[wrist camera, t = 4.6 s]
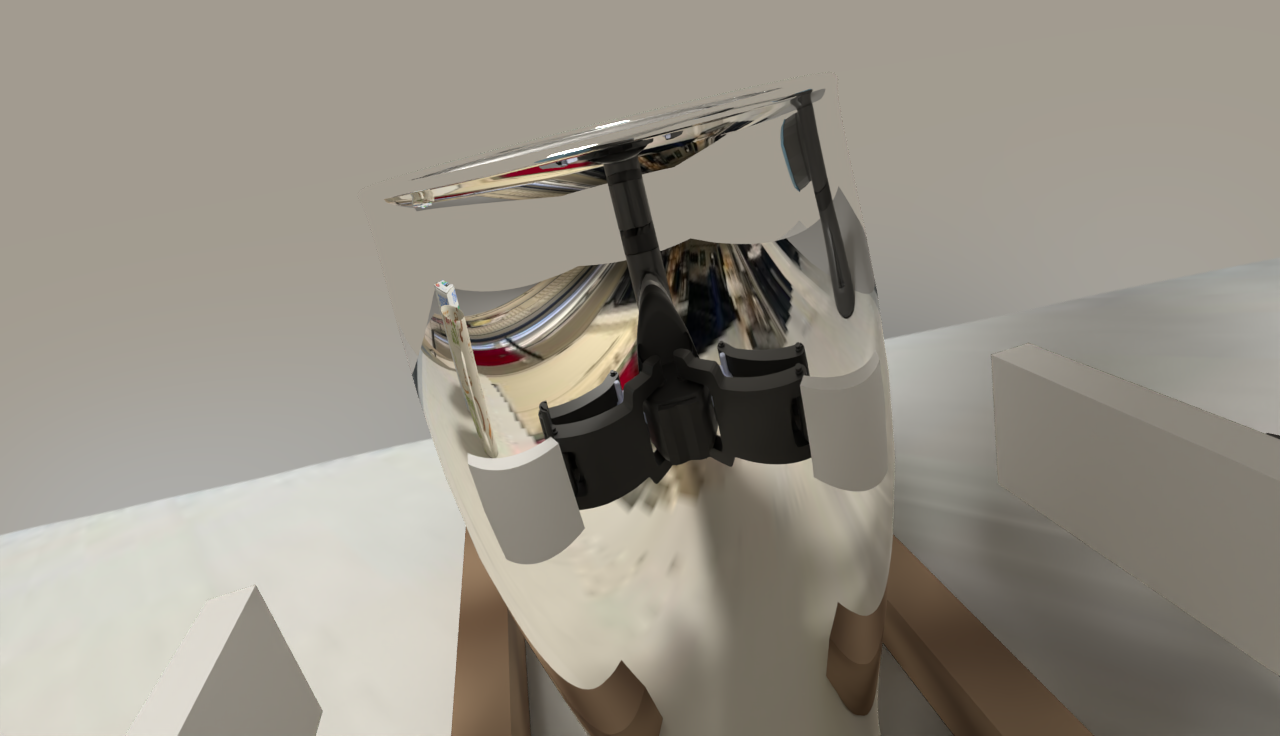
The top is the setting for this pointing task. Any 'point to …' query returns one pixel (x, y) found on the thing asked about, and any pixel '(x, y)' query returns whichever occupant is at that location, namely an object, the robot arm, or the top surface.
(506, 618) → the brown u-shaped block
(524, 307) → the metal tumbler
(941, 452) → the top surface
